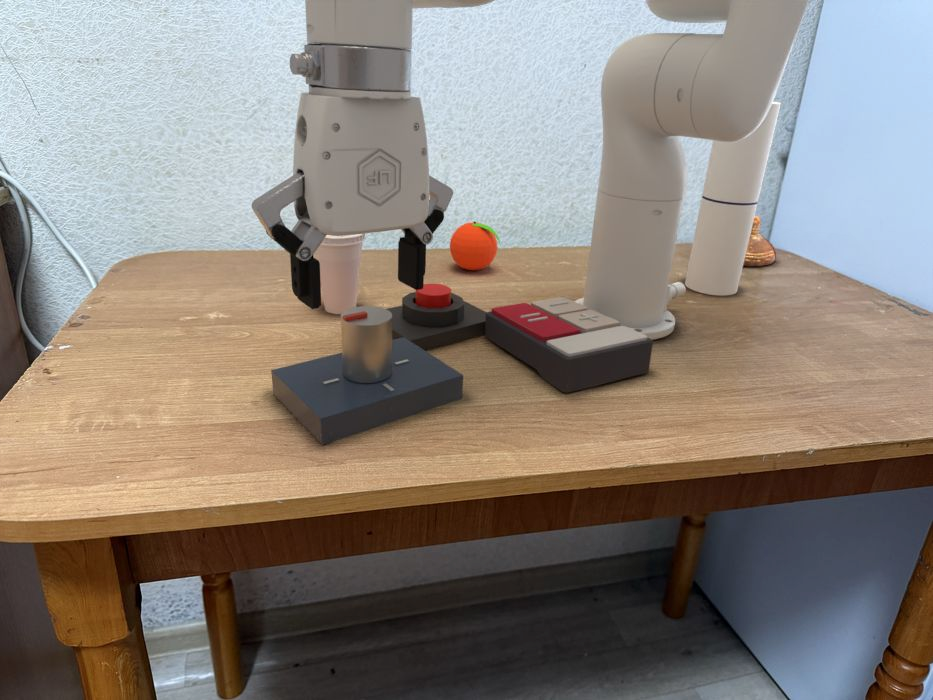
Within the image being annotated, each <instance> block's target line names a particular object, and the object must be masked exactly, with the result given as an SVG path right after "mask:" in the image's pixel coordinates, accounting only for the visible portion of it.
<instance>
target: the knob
mask: <svg viewBox="0 0 933 700" xmlns="http://www.w3.org/2000/svg"><path fill="white" fill-rule="evenodd" d="M386 309H387V308H383V307H379V306H373V305H361V306H356V307H354V308H350V309H348V310H345V311H344V312H343V313H342V314H340V331H341V333H340V334H341V335H340V336H341V353H342V362H343V375H344V376H345V377H346V378H347V379H349V380H351V381H354V382H358V383H375V382H380V381H383V380H385V379H387V378H389V377H390V376H391V374H392V314H391V312H390V311H388V310H386Z"/></svg>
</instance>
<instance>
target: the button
mask: <svg viewBox="0 0 933 700" xmlns="http://www.w3.org/2000/svg"><path fill="white" fill-rule="evenodd" d="M414 290H415V289H414ZM414 292H415V304H417V305H418V306H421V307H426V308H443V307H448V306H450V305H451V293H452V288H451V287H449V286H448V285H445V284H443V283H423V289H420V290H415V291H414Z"/></svg>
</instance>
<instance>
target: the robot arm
mask: <svg viewBox="0 0 933 700" xmlns="http://www.w3.org/2000/svg"><path fill="white" fill-rule="evenodd" d="M495 1H496V0H305V1H304V2H305V3H304V4H305V23H306V24H305V27H306V44H304V45H303V49H304V51H303V52H301V53H292V54H291V55H290V57H289V69H290V72H291V74H292V75H297V76H302V77H303V78H305V84H306V85H308V91H302V92H301V93H300V96H299V102H298V107H297V115H296V121H295V130H294V140H293V141H294V143H293V164H292V165H293V166H292V176H289V177H288V178H286V179H285V180H284V181H282V182H280V183H279V184H277V185H276V186H274V187H272V188H271V189H269V190H268V191H266V192H264V193H262V194H261V195H260V196H258V197H257V198H255V199H254V200H253V201H252V202H251V209H252V211H253V212H254V214H255V216H256V218H257V219H258V221H259V222H260V224H261V226H262V227H263V228H264V230H265V232H266V235H267V236H268V237H269V238H271V240H273V241H274V242H275V243H277V244H278V245H279V246H280V247H281V248H283V249H284V251H286V252H287V253H289V261H290V275H291V276H290V277H291V278H290V279H291V289H292V293H293V295H294V296H295V297H297V300H298V301H300V302H301V303H302V304H304V305H305V306H307V307H308V308H309V309H311V310H316V309H320V307H321V306H322V290H321V282H320V263H319V261H318V260H317V259H316V257H314V255H315V251H316V250H317V248H318V247H319V245H320V244H321V242H322V241H323V240H324V238H325V237H326V235H331V236H346V235H355V234H364V233H365V234H372V233H380V232H381V233H382V232H390V231H398V230H401V232H402V233H403V234H404V236H400V237H399V240H398V243H397V244H398V245H397V247H398V248H397V251H398V252H397V280H398V282H400V283H401V284H404V285H406V286H408V287H410V288H411V289H413V290H420V289H423V284H425V283H424V277H425V274H426V266H427V265H426V262H427V261H426V259H427V245H430V244H431V243H432V241H433V239H434V235H433V234H434V233H435V232H436V231H437V229H438V228H439V226H440V225H442V223H443V221H444V219H445V212H446V211H447V209H448V207H449V205H450V203H451V200H452V198H453V196H454V190H453V188H452V187H450V186H448V185H446V184H445V183H443V182H441V181H440V180H438V179H436V178H435V177H433V176H431V175H430V166H429V165H430V164H429V152H428V151H429V149H428V138H427V131H426V122H425V116H424V111H423V105H422V100H421V98H420V97H418V96H412V55H413V54H412V50H413V49H412V48H413V47H412V45H413V43H412V42H413V10H414V9H429V8H430V9H433V8H434V9H435V8H437V9H439V8H443V9H456V8H457V9H458V8H474V7H481V6H484V5H487V4H491V3H492V2H495ZM809 1H810V0H645V2H646V5H647V7H648V9H649V11H650V12H651V13H652V14H653V15H654V16H655V17H657V18H659V19H661V20H664V21H667V22H673V23H681V24H683V23H684V24H725V26H724V31H723V32H722V33H696V32H695V33H694V32H654V33H646V34H641V35H637V36H634V37H632V38H630V39H628V40H626V41H624V42H623V43H621V44H620V45H619V46H618V47H616V48H615V50H614V51H613V52H612V53H611V55H610V56H609V58H608V60H607V62H606V64H605V67H604V69H603V72H602V76H601V84H600V85H601V86H600V87H601V88H600V100H601V116H602V118H601V119H602V148H601V149H602V150H601V161H600V169H599V170H600V171H599V178H598V187H597V193H596V200H595V207H594V208H595V209H594V215H593V222H592V231H591V238H590V239H591V240H590V245H589V246H590V247H589V254H588V263H587V270H586V276H585V277H586V279H585V285H584V294H583V297H581V298H578V299H576V300H575V301H574V300H573V301H574V302H576V303H578V304H581V305H583V306H585V307H587V310H594V311H596V312H599V313H601V314H603V315H605V316H608V317H610V318H612V319H614V320H617V321H619V325H621V326H626V327H628V328H631V329H633V330H635V331H637V332H639V333H642V334H644V335H646V336H647V338H650V339H652V340H653V341H654V340H659V339H663V338H665V337H668V336H669V335H670V334H672V333H673V332H674V329H675V325H676V318H675V316H674V315H673V314H672V312H670V311H669V310H668V309H667V307H668V303H670V302H671V301H672V300H674V299H678V298H681V297H684V296H685V294H686V291H687V288H686V285H685V283H683V282H681V281H676V282H672V283H670V278H671V271H672V266H673V262H674V255H675V250H676V245H677V240H678V235H679V229H680V224H681V219H682V213H683V207H684V202H685V197H686V193H687V188H688V178H689V177H688V176H689V172H688V170H689V169H688V164H687V158H686V155H685V150H684V149H683V145H682V142H681V139H680V137H683V138H688V139H689V138H690V139H696V140H704V141H712V142H713V141H719V142H733V141H738V140H742V139H744V138H746V137H748V136H749V135H751V134H752V133H753V132H754V131H755V130H756V129H757V128H758V127H759V126H760V124H761V123H762V122H763V120H764V119H765V117H766V115H767V113H768V111H769V109H770V107H771V105H772V102H774V99H775V97H776V95H777V92H778V89H779V87H780V83H781V81H782V78H783V75H784V72H785V70H786V66H787V63H788V61H789V59H790V58H789V57H790V55H791V52H792V49H793V46H794V44H795V40H796V38H797V35H798V32H799V29H800V27H801V24H802V21H803V18H804V15H805V12H806V9H807V6H808V3H809ZM292 203H293V206H294V213H295V217H296V218H297V220H298V221H297V222H296V223H295V225H294V226H293V228H292V229H291V230H290V229H289V228H288V227H286V225H285V223H284V221H283V219H282V217H281V211H282V210H283V209H284V208H286V207H288V206H289V205H291V204H292Z"/></svg>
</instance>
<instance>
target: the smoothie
mask: <svg viewBox="0 0 933 700" xmlns="http://www.w3.org/2000/svg"><path fill="white" fill-rule="evenodd" d="M365 241H366V233H364V234H355V235H346V236H331V235H326V237H325V238H324V240H323V241H322V242H321V244H320V245H319V247H318V248H317V250H316V251H315V253H314V256H315V257H314V258H315V259H317V260H318V261H319V263H320V282H321V296H322V301H323V306H324V310H325V312H327V313H330V314H333V315H341V314H342V313H343V312H344V311H345V310H348V309H350V308H354V307H357V302H358V293H359V283H360V272H361V263H362V253H363V242H365Z"/></svg>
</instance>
